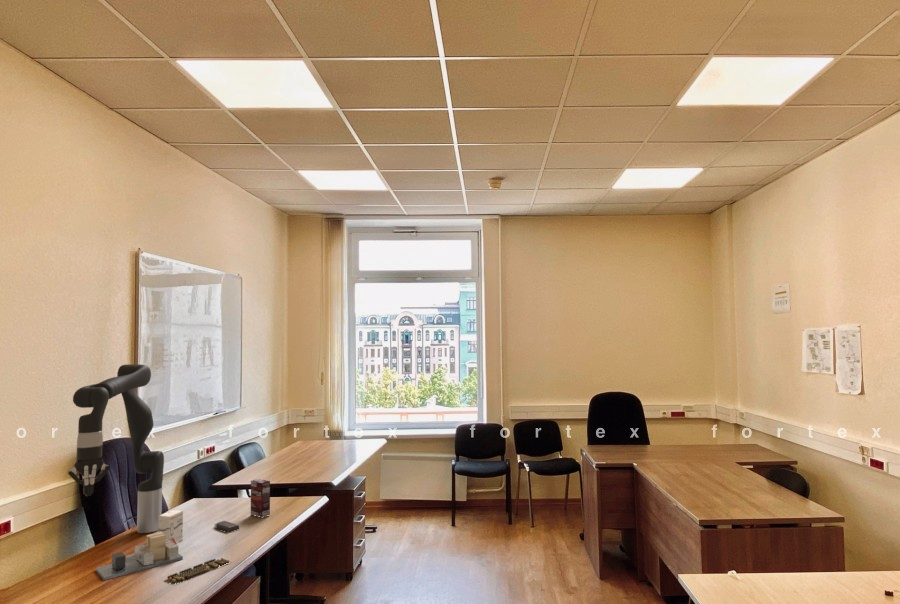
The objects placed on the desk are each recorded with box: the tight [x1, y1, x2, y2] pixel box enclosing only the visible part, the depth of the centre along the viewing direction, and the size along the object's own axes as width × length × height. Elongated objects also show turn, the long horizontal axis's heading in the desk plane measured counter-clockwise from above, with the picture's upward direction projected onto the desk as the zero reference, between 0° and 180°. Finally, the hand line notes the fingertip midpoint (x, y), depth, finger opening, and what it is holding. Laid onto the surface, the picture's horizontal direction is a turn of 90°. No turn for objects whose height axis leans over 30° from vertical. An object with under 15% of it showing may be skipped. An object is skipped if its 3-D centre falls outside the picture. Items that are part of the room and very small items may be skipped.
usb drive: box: [214, 520, 240, 533], centre depth 235 cm, size 5×12×3 cm, turn 54°
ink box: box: [158, 509, 184, 544], centre depth 218 cm, size 9×5×12 cm, turn 168°
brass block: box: [146, 532, 166, 561], centre depth 200 cm, size 5×5×8 cm
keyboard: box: [163, 557, 230, 585], centre depth 189 cm, size 22×9×2 cm, turn 147°
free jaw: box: [111, 543, 154, 570], centre depth 194 cm, size 12×11×4 cm
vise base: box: [95, 539, 184, 581], centre depth 196 cm, size 12×25×5 cm, turn 134°
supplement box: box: [250, 478, 271, 517], centre depth 253 cm, size 9×5×16 cm, turn 55°
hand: (88, 495), depth 190 cm, fingers closed
